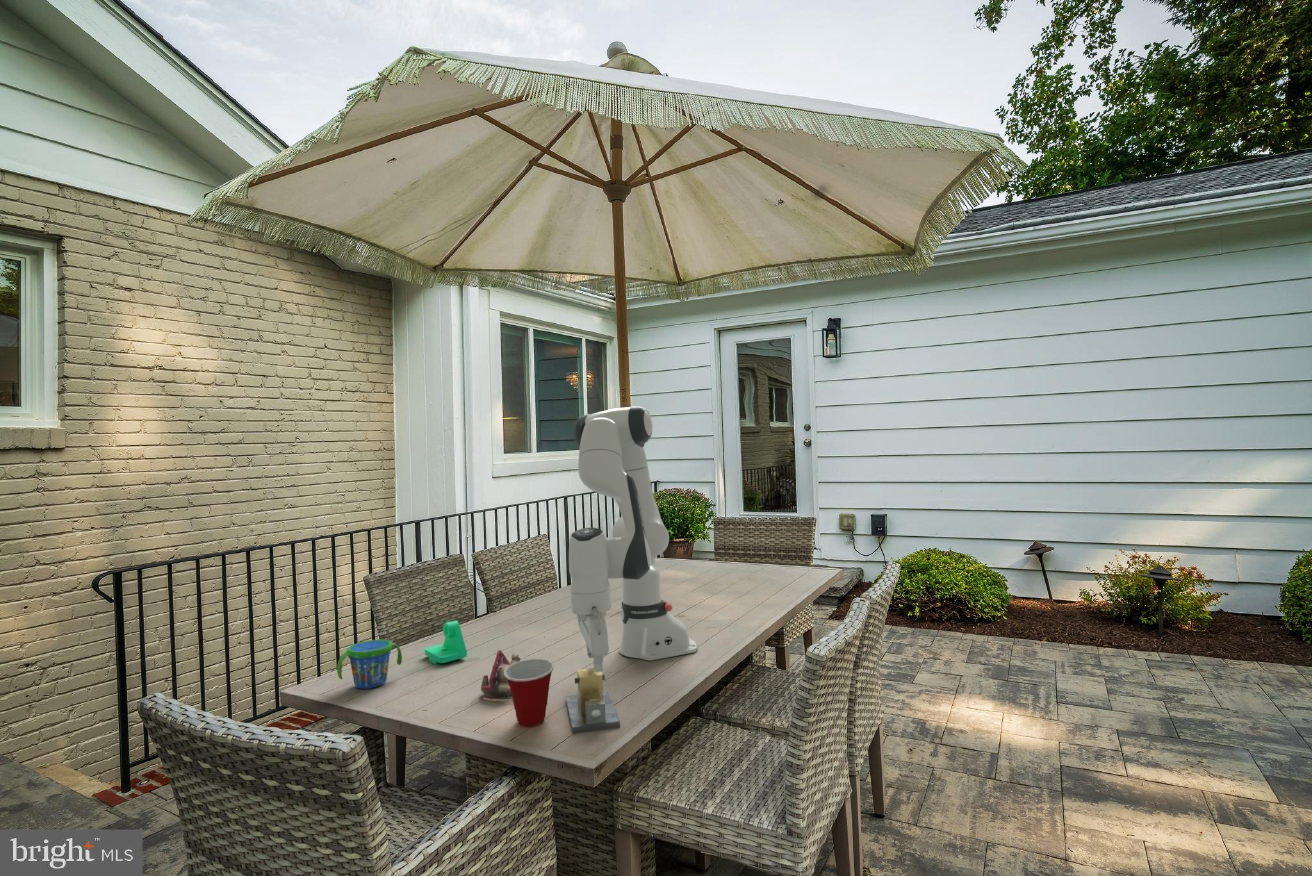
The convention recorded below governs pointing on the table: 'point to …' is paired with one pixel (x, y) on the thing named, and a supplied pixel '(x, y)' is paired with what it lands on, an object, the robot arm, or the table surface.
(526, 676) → the plastic cup
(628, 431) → the robot arm
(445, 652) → the camera mount
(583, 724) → the shaft stand
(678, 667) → the table surface
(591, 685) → the block
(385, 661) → the snack cup
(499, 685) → the brake caliper
